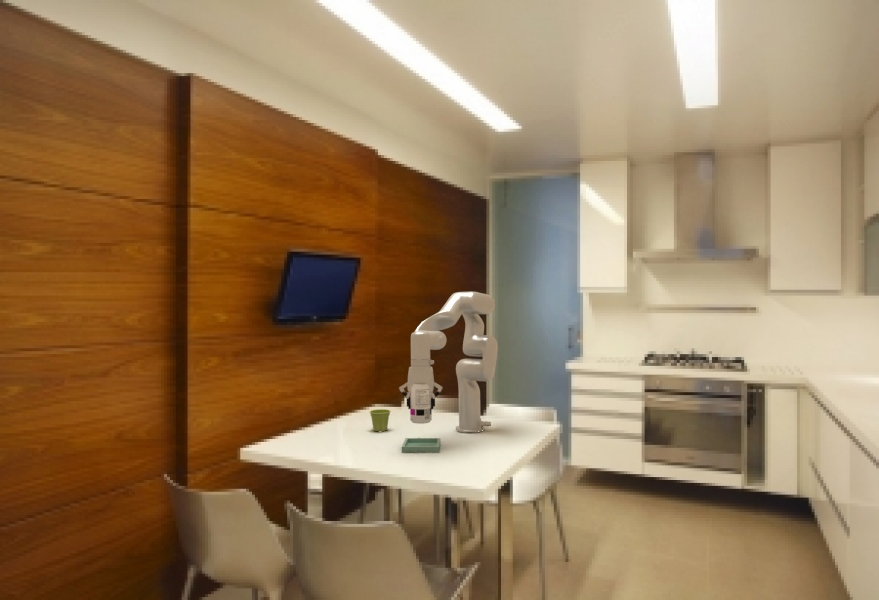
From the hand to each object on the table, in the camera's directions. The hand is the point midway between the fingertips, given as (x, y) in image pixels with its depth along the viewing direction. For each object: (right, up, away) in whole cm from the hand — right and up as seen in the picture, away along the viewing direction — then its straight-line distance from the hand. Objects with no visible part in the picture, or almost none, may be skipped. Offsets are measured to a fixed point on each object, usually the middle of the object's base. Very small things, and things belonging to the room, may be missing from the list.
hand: (420, 408), depth 210 cm
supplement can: (0, -5, 0) cm, 5 cm away
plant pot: (-19, -17, +32) cm, 41 cm away
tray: (0, -15, 0) cm, 15 cm away
